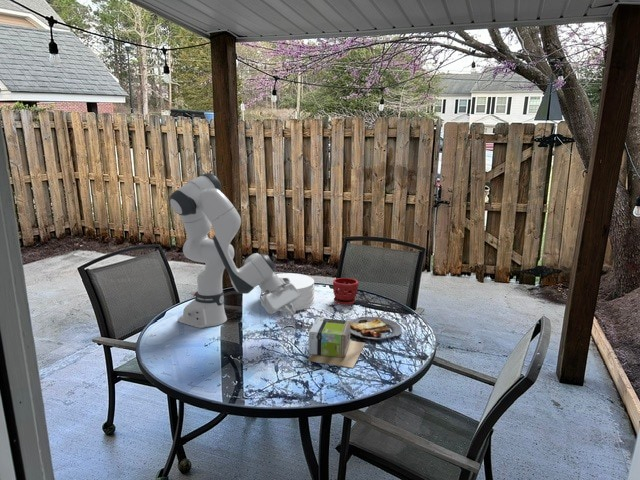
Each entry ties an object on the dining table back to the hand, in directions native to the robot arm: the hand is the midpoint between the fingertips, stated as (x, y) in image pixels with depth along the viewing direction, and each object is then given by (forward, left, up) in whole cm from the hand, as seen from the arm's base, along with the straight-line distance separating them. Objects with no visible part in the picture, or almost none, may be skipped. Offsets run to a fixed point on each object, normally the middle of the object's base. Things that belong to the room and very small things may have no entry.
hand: (292, 314), depth 182 cm
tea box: (+9, -1, -8) cm, 12 cm away
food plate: (+29, +23, -13) cm, 40 cm away
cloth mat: (+20, -2, -13) cm, 24 cm away
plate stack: (-21, +45, -13) cm, 52 cm away
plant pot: (+8, +54, -13) cm, 57 cm away
